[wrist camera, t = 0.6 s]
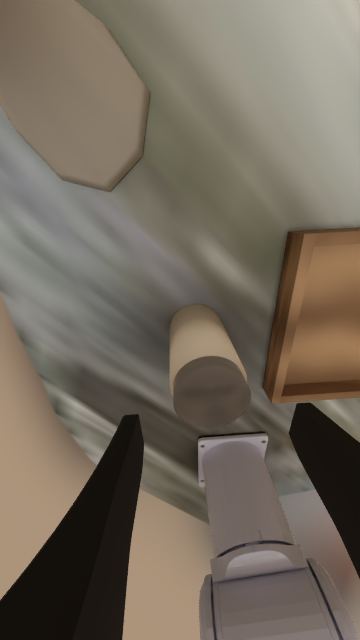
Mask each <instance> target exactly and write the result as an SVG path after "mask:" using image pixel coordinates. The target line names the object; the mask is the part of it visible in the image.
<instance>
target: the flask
mask: <svg viewBox="0 0 360 640" xmlns="http://www.w3.org/2000/svg"><path fill="white" fill-rule="evenodd" d="M149 97H150V91H149V89H148V88H147V86H146V85H145V83H144V82H143V80H142V79H141V77H140V75H139V74H138V72H137V71H136V69H135V68H134V66H133V65H132V63H131V62H130V60H129V59H128V57H127V56H126V54H125V53H124V51H123V50H122V48H121V47H120V45H119V44H118V42H117V41H116V39H115V38H114V36H113V35H112V33H111V32H110V30H109V29H108V28H107V27H106V26H105V25H104V24H103V23H102V22H100V21H99V20H98V19H97V18H96V17H94V16H93V15H92V14H91V13H90V12H88V11H87V10H86V9H85V8H84V7H82V6H81V5H80V4H79V3H78V2H76V1H75V0H0V105H1V107H2V108H3V110H4V112H5V113H6V115H7V116H8V118H9V120H10V121H11V123H12V124H13V126H14V127H15V129H16V130H17V132H18V133H19V134H20V135H21V136H22V137H23V139H24V140H25V141H26V142H27V143H28V144H29V145H30V146H31V147H32V148H33V149H34V150H35V151H36V153H37V154H38V155H39V156H40V157H41V158H42V159H43V160H44V161H45V162H46V163H47V164H48V165H49V166H50V168H51V169H52V170H53V171H54V172H55V173H56V174H57V175H58V176H59V177H60V178H61V179H62V180H65V181H69V182H73V183H77V184H80V185H84V186H88V187H92V188H96V189H100V190H104V191H108V192H110V191H111V190H112V189H113V188H114V187H115V186H116V185H117V183H118V182H119V181H120V180H121V179H122V178H123V177H124V176H125V175H126V173H127V172H128V171H129V170H130V169H131V168H132V167H133V166H134V165H135V163H136V162H137V161H138V160H139V159H140V158H141V157H142V155H143V147H144V139H145V130H146V122H147V114H148V106H149Z"/></svg>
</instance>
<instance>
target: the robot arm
mask: <svg viewBox="0 0 360 640" xmlns="http://www.w3.org/2000/svg"><path fill="white" fill-rule="evenodd" d="M289 435H290V438H291V440H292V443H293V445H294V448H295V450H296V452H297V455H298V457H299V459H300V461H301V463H302V465H303V467H304V469H305V470H306V472H307V474H308V476H309V478H310V480H311V482H312V483H313V485H314V487H315V489H316V491H317V493H318V494H319V496H320V498H321V500H322V502H323V503H324V505H325V507H326V509H327V511H328V513H329V515H330V516H331V518H332V520H333V522H334V524H335V526H336V528H337V530H338V532H339V534H340V536H341V538H342V541H343V543H344V545H345V547H346V549H347V552H348V554H349V556H350V558H351V560H352V562H353V565H354V567H355V569H356V571H357V574H358V576H359V578H360V443H359V442H358V441H357V440H356V439H354V438H353V437H352V436H351V435H349V434H348V433H347V432H346V431H344V430H343V429H342V428H341V427H339V426H338V425H337V424H336V423H335V422H333V421H332V420H331V419H330V418H328V417H327V416H326V415H325V414H324V413H322V412H321V411H320V410H319V409H317V408H316V407H315V406H314V405H313V404H311V403H297V405H296V408H295V412H294V416H293V419H292V423H291V427H290V431H289ZM267 442H268V436H267V434H265V433H261V434H247V435H233V436H219V437H205V438H200V439H198V481H199V486H200V487H205V491H206V498H207V506H208V514H209V522H210V529H211V537H212V545H213V553H214V559H211V560H210V562H211V572H212V574H209V575H206V577H205V579H204V583H203V585H202V587H201V590H200V598H199V618H200V637H201V640H360V639H359V637H358V634H357V632H356V629H355V627H354V625H353V622H352V620H351V618H350V616H349V613H348V611H347V609H346V607H345V605H344V603H343V601H342V598H341V596H340V594H339V592H338V590H337V589H336V587H335V585H334V583H333V581H332V579H331V577H330V576H329V574H328V573H327V571H326V570H325V569H324V568H323V567H322V566H321V565H320V564H318V563H317V561H316V560H315V559H313V558H307V559H306V558H305V555H304V553H303V550H302V548H301V546H300V545H299V544H298V545H296V543H295V540H294V538H293V535H292V532H291V530H290V527H289V524H288V522H287V519H286V517H285V514H284V511H283V509H282V506H281V504H280V501H279V498H278V496H277V493H276V491H275V488H274V485H273V483H272V480H271V477H270V475H269V472H268V470H267V467H266V464H265V462H264V457H265V452H266V447H267ZM143 452H144V441H143V436H142V430H141V425H140V420H139V415H138V414H136V415H125V416H124V417H123V418H122V420H121V422H120V424H119V426H118V428H117V430H116V432H115V434H114V436H113V438H112V440H111V442H110V444H109V446H108V448H107V449H106V451H105V453H104V455H103V456H102V458H101V460H100V462H99V463H98V465H97V467H96V469H95V470H94V472H93V474H92V475H91V477H90V478H89V480H88V482H87V483H86V485H85V486H84V488H83V490H82V491H81V493H80V494H79V496H78V497H77V499H76V500H75V502H74V503H73V505H72V506H71V508H70V509H69V511H68V512H67V514H66V515H65V517H64V518H63V519H62V521H61V522H60V524H59V525H58V527H57V528H56V530H55V531H54V532H53V533H52V535H51V536H50V537H49V539H48V540H47V541H46V543H45V544H44V545H43V547H42V548H41V549H40V551H39V552H38V554H37V555H36V556H35V558H34V559H33V560H32V561H31V563H30V564H29V565H28V567H27V568H26V569H25V570H24V572H23V573H22V574H21V576H20V577H19V578H18V579H17V580H16V582H15V583H14V584H13V585H12V587H11V588H10V589H9V590H8V591H7V593H6V594H5V595H4V596H3V598H2V599H1V600H0V640H122V635H123V622H124V610H125V598H126V585H127V575H128V564H129V553H130V545H131V537H132V530H133V524H134V518H135V511H136V505H137V500H138V493H139V487H140V481H141V474H142V466H143Z"/></svg>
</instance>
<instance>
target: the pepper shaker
mask: <svg viewBox="0 0 360 640" xmlns="http://www.w3.org/2000/svg"><path fill="white" fill-rule="evenodd" d="M170 392H171V394H172V396H173V402H174V409H175V411H176V413H177V415H178V416H179V417H180V418H181V419H182V420H184V421H185V422H187V423H189V424H191V425H193V426H197V427H205V428H212V427H219V426H223V425H226V424H228V423H231V422H232V421H234V420H236V419H237V418H239V417H240V416H241V415H242V414H243V413H244V412H245V411H246V409H247V407H248V405H249V403H250V398H251V394H250V390H249V387H248V385H247V375H246V372H245V369H244V367H243V365H242V363H241V361H240V359H239V357H238V355H237V353H236V351H235V349H234V347H233V345H232V343H231V341H230V338H229V336H228V334H227V332H226V330H225V328H224V326H223V324H222V322H221V320H220V318H219V316H218V314H217V313H216V312H215V311H214V310H213V309H212V308H210V307H208V306H205V305H200V304H193V305H188V306H186V307H184V308H182V309H180V310H179V311H178V312H177V313H176V314H175V315H174V316H173V318H172V320H171V323H170Z"/></svg>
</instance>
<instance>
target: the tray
mask: <svg viewBox="0 0 360 640" xmlns="http://www.w3.org/2000/svg"><path fill="white" fill-rule="evenodd" d="M263 389H264V391H265V393H266V394H267V396H268V398H269V400H270V402H271V404H272V403H286V402H301V401H315V400H330V399H344V398H359V397H360V228H347V229H329V230H311V231H293V232H288V238H287V244H286V250H285V256H284V262H283V268H282V274H281V280H280V286H279V293H278V299H277V305H276V311H275V317H274V323H273V329H272V335H271V341H270V348H269V354H268V360H267V366H266V372H265V378H264V384H263Z"/></svg>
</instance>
